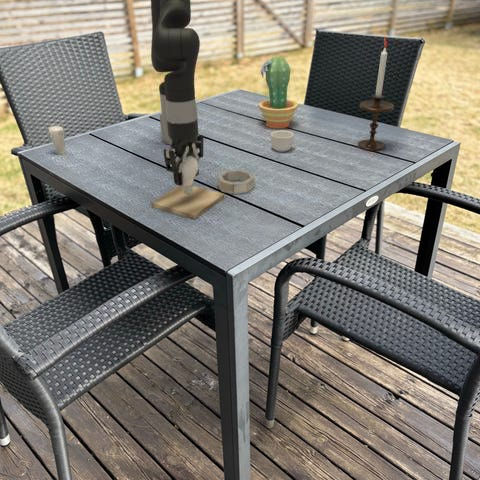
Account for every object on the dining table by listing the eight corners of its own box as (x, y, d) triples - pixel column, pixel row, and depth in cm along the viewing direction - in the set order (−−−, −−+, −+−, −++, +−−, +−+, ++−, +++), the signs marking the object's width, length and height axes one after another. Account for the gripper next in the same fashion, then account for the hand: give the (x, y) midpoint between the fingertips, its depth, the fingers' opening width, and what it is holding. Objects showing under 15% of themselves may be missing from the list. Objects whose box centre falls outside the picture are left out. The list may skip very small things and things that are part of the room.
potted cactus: (271, 116, 190) (273, 51, 177) (304, 123, 183) (308, 55, 169) (250, 126, 180) (249, 58, 167) (284, 133, 172) (286, 63, 159)
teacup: (290, 154, 154) (291, 138, 152) (268, 152, 156) (268, 136, 154) (296, 144, 163) (296, 129, 160) (274, 142, 164) (275, 127, 162)
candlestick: (348, 143, 162) (361, 35, 144) (374, 139, 166) (389, 33, 147) (367, 154, 154) (383, 40, 135) (394, 149, 157) (413, 37, 139)
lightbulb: (204, 191, 126) (202, 152, 120) (192, 201, 121) (189, 161, 115) (184, 187, 128) (181, 149, 122) (171, 196, 123) (168, 157, 117)
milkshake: (72, 151, 159) (66, 123, 154) (58, 156, 156) (51, 127, 150) (65, 148, 162) (59, 120, 156) (51, 152, 158) (44, 124, 153)
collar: (212, 189, 132) (212, 179, 131) (230, 176, 140) (230, 167, 138) (242, 196, 128) (242, 186, 126) (259, 183, 135) (259, 173, 134)
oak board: (151, 206, 124) (151, 202, 123) (183, 187, 134) (183, 183, 133) (194, 219, 117) (194, 215, 117) (224, 197, 128) (224, 193, 127)
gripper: (187, 107, 120) (191, 167, 129) (151, 123, 110) (158, 187, 119) (211, 111, 117) (213, 173, 126) (176, 127, 107) (181, 193, 115)
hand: (186, 179), depth 122 cm, fingers closed on lightbulb, 6 cm apart
